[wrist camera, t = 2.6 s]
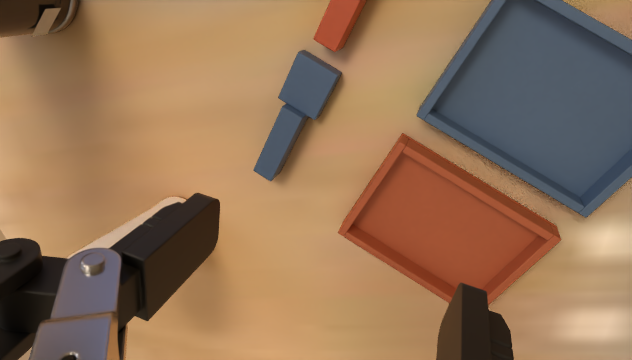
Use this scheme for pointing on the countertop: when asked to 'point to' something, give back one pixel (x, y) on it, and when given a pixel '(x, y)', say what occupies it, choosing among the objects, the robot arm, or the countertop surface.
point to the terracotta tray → (445, 224)
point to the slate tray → (542, 99)
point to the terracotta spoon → (338, 23)
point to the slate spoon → (296, 109)
